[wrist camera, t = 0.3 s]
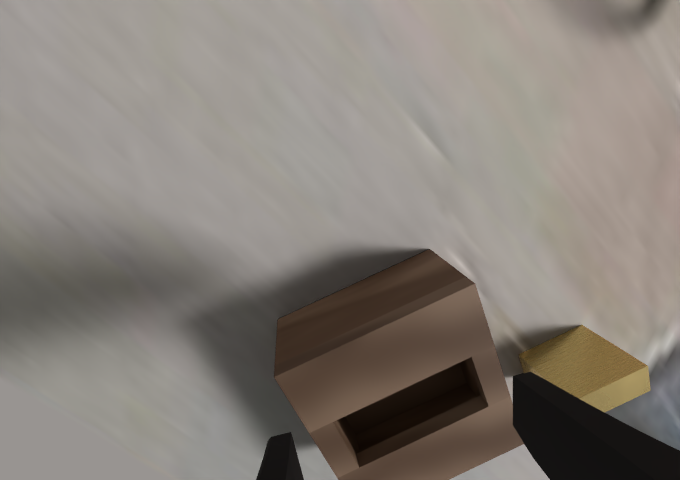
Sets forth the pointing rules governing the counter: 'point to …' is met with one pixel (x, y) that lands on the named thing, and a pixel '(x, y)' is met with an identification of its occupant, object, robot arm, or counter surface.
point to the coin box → (398, 375)
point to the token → (588, 368)
